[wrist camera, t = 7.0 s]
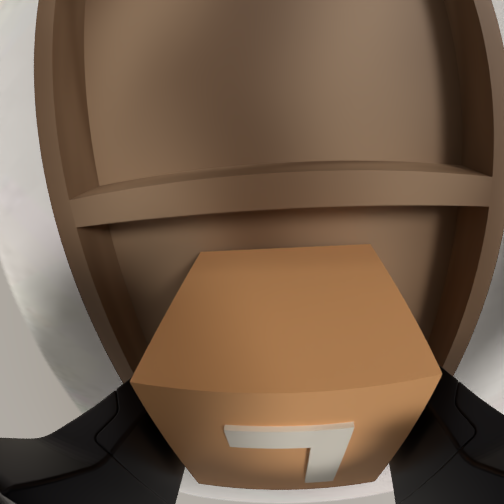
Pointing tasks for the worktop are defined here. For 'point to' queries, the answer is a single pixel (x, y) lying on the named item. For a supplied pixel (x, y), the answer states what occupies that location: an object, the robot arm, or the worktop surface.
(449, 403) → the robot arm
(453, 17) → the organiser
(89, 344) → the worktop surface
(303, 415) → the letter cube
